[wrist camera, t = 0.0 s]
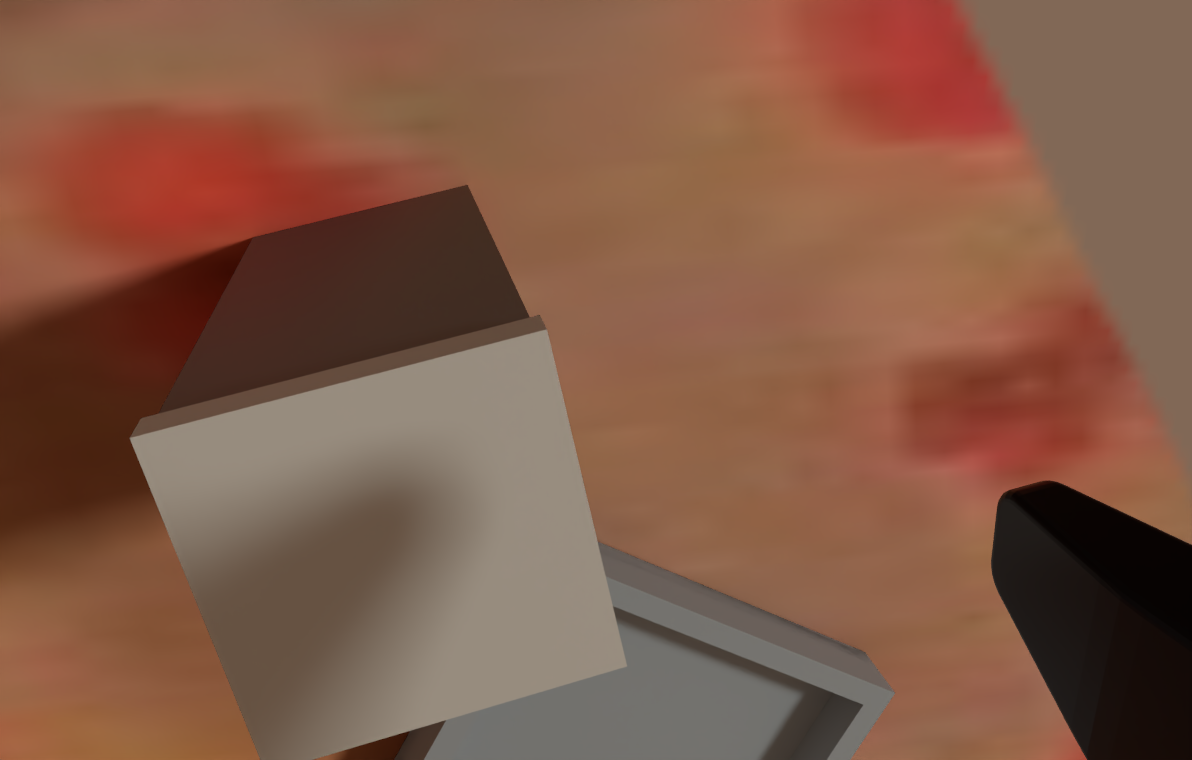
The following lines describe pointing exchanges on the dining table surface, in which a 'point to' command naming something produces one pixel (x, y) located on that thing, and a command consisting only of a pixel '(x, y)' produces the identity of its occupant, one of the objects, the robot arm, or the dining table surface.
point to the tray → (682, 688)
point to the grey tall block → (379, 484)
